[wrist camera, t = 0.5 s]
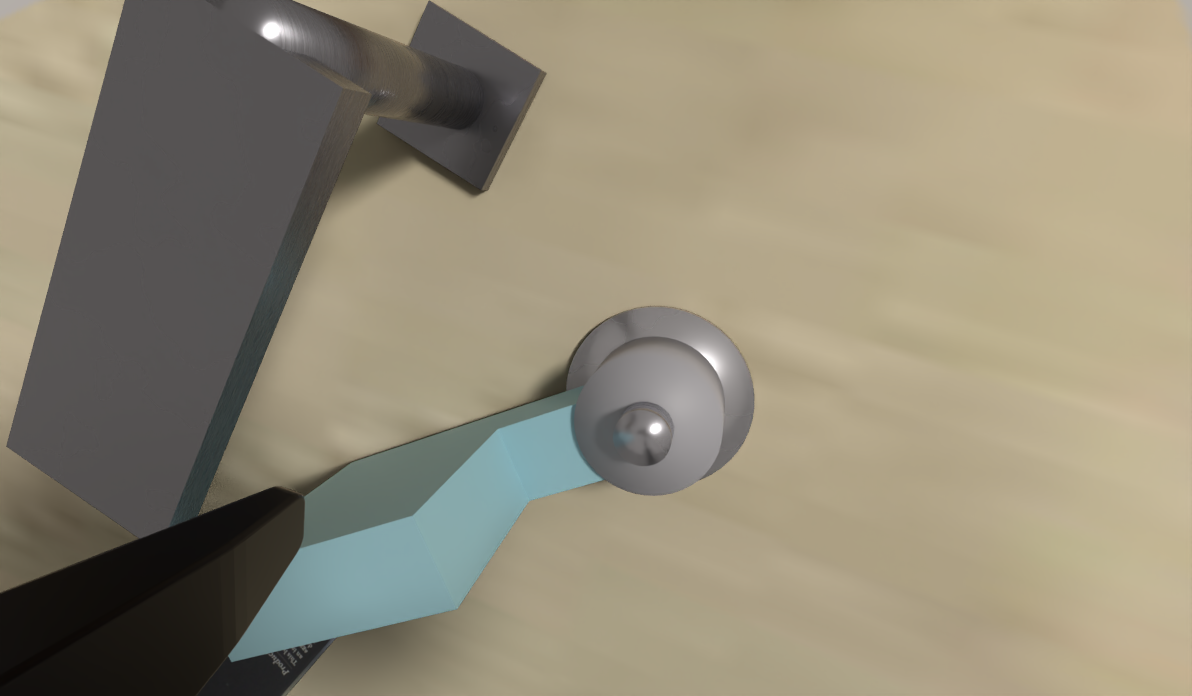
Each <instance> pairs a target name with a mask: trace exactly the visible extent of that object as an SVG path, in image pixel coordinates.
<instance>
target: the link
mask: <svg viewBox="0 0 1192 696" xmlns="http://www.w3.org/2000/svg"><path fill="white" fill-rule="evenodd" d="M638 402H651V403H655V404H657V405H659V406H661V407H662V408H664V409H665V410H666V411H667V412H668V413H669V415H670V416H671V418H672V421H673V424H674V436H673V439H672V443H671V447H670V450H669V452H668V454H667V455H666V457H665V458H664V459H663V460H662V461H660V462H659V463H657V464H654V465H651V466H637V465H634V464H631V463H629V462H628V461H626V460H625V459H623V458H622V457H621V456H620V455H619V453H618V452H617V450H616V448H615V446H614V442H613V432H614V428H615V426H616V424H617V422H618V420H619V418H620V416H621V414H622V413H623V411H624V410H625V409H626V408H627V407H629V406H630V405H632V404H634V403H638ZM724 411H725V397H724V390H723V387H722V383H721V380H720V378H719V376H718V374H717V372H716V371H715V369H714V367H713V366H712V365H711V363H710V362H709V361H708V360H707V359H706V358H705V357H704V356H703V355H702V354H701V353H700V352H698V351H697V350H696V349H694V348H693V347H691V346H689V345H687V344H686V343H683V342H681V341H678V340H675V339H671V338H667V337H659V336H652V337H642V338H638V339H634V340H631V341H629V342H626V343H624V344H622V345H621V346H619V347H617V348H616V349H615V350H614V351H612V352H611V353H610V354H609V355H608V356H607V357H606V358H605V359H604V361H603V362H602V363H601V364H600V366H599V367H598V368H597V370H596V371H595V372H594V373H593V375H592V376H591V377H590V379H589V380H588V381H587V383H586V384H585V385H584V386H581V387H578V388H575V389H572V390H569V391H566V392H563V393H560V394H556V395H553V396H550V397H547V398H544V399H541V400H538V401H535V402H532V403H529V404H526V405H523V406H520V407H517V408H514V409H511V410H508V411H505V412H502V413H499V414H496V415H493V416H490V417H487V418H484V419H481V420H478V421H475V422H472V423H469V424H466V425H463V426H460V427H457V428H454V429H451V430H448V431H445V432H442V433H439V434H436V435H433V436H430V437H427V438H424V439H421V440H418V441H415V442H412V443H409V444H406V445H403V446H400V447H397V448H394V449H391V450H388V451H385V452H382V453H379V454H376V455H373V456H370V457H367V458H364V459H361V460H358V461H355V462H352V463H350V464H349V465H347V466H346V467H345V468H343V469H342V470H340V471H339V472H338V473H336V474H335V475H334V476H332V477H331V478H329V479H328V480H327V481H325V482H324V483H322V484H321V485H320V486H318V487H317V488H316V489H314V490H313V491H311V492H310V493H309V494H307V495H306V496H305V497H304V498H305V521H304V538H303V542H302V544H301V547H300V549H299V551H298V552H297V554H296V556H295V557H294V559H293V560H292V562H291V563H290V565H289V566H288V568H287V569H286V571H285V572H284V574H283V576H282V577H281V579H280V580H279V582H278V583H277V585H276V586H275V588H274V589H273V591H272V592H271V594H270V595H269V597H268V598H267V600H266V602H265V603H264V605H263V606H262V608H261V609H260V611H259V612H258V614H257V615H256V617H255V618H254V620H253V621H252V623H251V624H250V626H249V628H248V629H247V631H246V632H245V633H244V635H243V636H242V638H241V639H240V641H239V642H238V644H237V645H236V646H235V648H234V649H233V650H232V652H231V653H230V654H229V655H228V657H229V658H230V660H231V662H234V661H238V660H242V659H246V658H251V657H255V656H259V655H264V654H268V653H272V652H276V651H281V650H285V649H289V648H293V647H298V646H302V645H306V644H311V643H315V642H319V641H323V640H328V639H332V638H336V637H340V636H345V635H349V634H353V633H357V632H362V631H366V630H370V629H375V628H379V627H383V626H387V625H392V624H396V623H400V622H404V621H409V620H413V619H417V618H421V617H426V616H430V615H434V614H439V613H443V612H447V611H451V610H456V609H458V607H459V606H460V604H461V603H462V601H463V600H464V598H465V597H466V595H467V594H468V592H469V591H470V589H471V588H472V586H473V584H474V583H475V581H476V580H477V578H478V577H479V575H480V574H481V572H482V571H483V569H484V568H485V566H486V565H487V563H488V562H489V560H490V559H491V557H492V556H493V554H494V553H495V551H496V550H497V548H498V547H499V545H500V544H501V542H502V541H503V539H504V538H505V536H506V535H507V533H508V532H509V530H510V529H511V527H512V526H513V524H514V523H515V521H516V520H517V518H518V517H519V515H520V514H521V512H522V511H523V509H524V508H525V506H526V505H527V503H528V502H529V501H531V500H534V499H538V498H541V497H545V496H548V495H552V494H555V493H559V492H563V491H566V490H570V489H573V488H577V487H580V486H584V485H587V484H591V483H595V482H598V481H602V480H606V481H608V482H609V483H611V484H613V485H615V486H616V487H618V488H621V489H623V490H625V491H628V492H632V493H635V494H641V495H653V496H655V495H666V494H671V493H674V492H677V491H680V490H683V489H685V488H687V487H689V486H691V485H692V484H694V483H695V482H697V481H698V480H699V479H700V478H701V477H703V476H704V475H705V474H706V472H707V471H708V470H709V469H710V468H711V466H712V464H713V463H714V461H715V459H716V457H717V455H718V453H719V450H720V446H721V442H722V434H723V423H724Z"/></svg>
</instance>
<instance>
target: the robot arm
mask: <svg viewBox="0 0 1192 696" xmlns="http://www.w3.org/2000/svg"><path fill="white" fill-rule="evenodd" d="M304 521H305V498H304V496H303V495H302V494H301V493H299V492H296V491H293V490H290V489H287V488H284V487H280V486H276V487H272V488H269V489H266V490H264V491H261V492H259V493H256V494H253V495H251V496H248V497H246V498H243V499H240V500H238V501H235V502H233V503H230V504H228V505H225V506H222V507H220V508H217V509H215V510H212V511H210V512H207V513H204V514H202V515H199V516H197V517H194V518H191V519H189V520H186V521H184V522H181V523H179V524H176V525H173V526H171V527H168V528H166V529H163V530H161V531H158V532H155V533H153V534H150V535H148V536H145V537H142V538H140V539H137V540H135V541H132V542H130V543H127V544H124V545H122V546H119V547H117V548H114V549H112V550H109V551H106V552H104V553H101V554H99V555H96V556H93V557H91V558H88V559H86V560H83V561H81V562H78V563H75V564H73V565H70V566H68V567H65V568H63V569H60V570H57V571H55V572H52V573H50V574H47V575H44V576H42V577H39V578H37V579H34V580H32V581H29V582H26V583H24V584H21V585H19V586H16V587H14V588H11V589H8V590H6V591H3V592H1V593H0V696H196V695H197V694H198V693H199V692H200V690H201V689H202V688H203V687H204V685H205V684H206V683H207V682H208V680H209V679H210V678H211V677H212V676H213V674H214V673H215V672H216V671H217V669H218V668H219V667H220V666H221V664H222V663H223V662H224V661H225V659H226V658H227V657H228V655H229V654H230V653H231V652H232V650H233V649H234V648H235V646H236V645H237V644H238V642H239V641H240V639H241V638H242V636H243V635H244V633H245V632H246V631H247V629H248V628H249V626H250V624H251V623H252V621H253V620H254V618H255V617H256V615H257V614H258V612H259V611H260V609H261V608H262V606H263V605H264V603H265V602H266V600H267V598H268V597H269V595H270V594H271V592H272V591H273V589H274V588H275V586H276V585H277V583H278V582H279V580H280V579H281V577H282V576H283V574H284V572H285V571H286V569H287V568H288V566H289V565H290V563H291V562H292V560H293V559H294V557H295V556H296V554H297V552H298V551H299V549H300V547H301V544H302V542H303V538H304Z"/></svg>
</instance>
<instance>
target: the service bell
mask: <svg viewBox="0 0 1192 696" xmlns="http://www.w3.org/2000/svg"><path fill="white" fill-rule="evenodd" d="M652 336H659V337H667V338H671V339H675V340H678V341H681V342H683V343H686V344H687V345H689V346H691V347H693V348H694V349H696V350H697V351H698V352H700V353H701V354H702V355H703V356H704V357H705V358H706V359H707V360H708V361H709V362H710V363H711V365H712V366H713V367H714V369H715V371H716V372H717V374H718V376H719V378H720V380H721V383H722V387H723V390H724V397H725V411H724V423H723V434H722V442H721V446H720V450H719V453H718V455H717V457H716V459H715V461H714V463H713V464H712V466H711V468H710V469H709V470H708V471H707V472H706V474H705V475H704V476H703V477H701V478H700V479H699V480H701V479H703V478H705V477H707V476H709V475H711V474H713V473H714V472H716V471H717V470H719V469H720V468H722V467H723V466H724V465H725V464H726V463H727V462H729V461H730V460H731V459H732V457H733V456H734V455H735V454H736V453H737V452H738V450H739V449H740V447H741V446H742V444H743V442H744V441H745V438H746V436H747V434H748V432H749V429H750V426H751V423H752V419H753V412H754V389H753V382H752V378H751V375H750V371H749V369H748V366H747V364H746V362H745V359H744V358H743V356H742V354H741V353H740V351H739V349H738V348H737V347H736V345H735V344H734V343H733V342H732V340H731V339H730V338H729V337H728V336H727V335H726V334H725V333H724V332H723V331H722V330H721V329H719V328H718V327H717V326H715V325H714V324H713V323H711V322H710V321H708V320H706V319H704V318H702V317H701V316H699V315H696V314H694V313H691V312H689V311H686V310H682V309H678V308H674V307H665V306H647V307H640V308H635V309H631V310H627V311H624V312H622V313H619V314H617V315H615V316H613V317H611V318H609V319H608V320H606V321H604V322H603V323H602V324H600V325H599V326H598V327H597V328H595V329H594V330H593V331H592V332H591V333H590V334H589V335H588V337H587V338H586V339H585V340H584V341H583V343H582V344H581V346H580V347H579V348H578V350H577V352H576V354H575V356H574V358H573V360H572V363H571V366H570V369H569V373H568V378H567V386H566V391H569V390H572V389H575V388H578V387H581V386H584V385H585V384H586V383H587V381H588V380H589V379H590V377H591V376H592V375H593V373H594V372H595V371H596V370H597V368H598V367H599V366H600V364H601V363H602V362H603V361H604V359H605V358H606V357H607V356H608V355H609V354H610V353H611V352H612V351H614V350H615V349H616V348H617V347H619V346H621V345H622V344H624V343H626V342H629V341H631V340H634V339H638V338H642V337H652ZM673 436H674V424H673V421H672V418H671V416H670V415H669V413H668V412H667V411H666V410H665V409H664V408H662V407H661V406H659V405H657V404H655V403H651V402H638V403H634V404H632V405H630V406H629V407H627V408H626V409H625V410H624V411H623V413H622V414H621V416H620V418H619V420H618V422H617V424H616V426H615V428H614V432H613V442H614V446H615V448H616V450H617V452H618V453H619V455H620V456H621V457H622V458H623V459H625V460H626V461H628V462H629V463H631V464H634V465H637V466H651V465H654V464H657V463H659V462H660V461H662V460H663V459H664V458H665V457H666V455H667V454H668V452H669V450H670V447H671V443H672V439H673Z"/></svg>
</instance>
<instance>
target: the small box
mask: <svg viewBox="0 0 1192 696" xmlns="http://www.w3.org/2000/svg"><path fill="white" fill-rule="evenodd" d="M335 639H336V638H332V639H328V640H323V641H319V642H315V643H311V644H306V645H302V646H298V647H293V648H289V649H285V650H281V651H276V652H272V653H268V654H264V655H259V656H255V657H251V658H246V659H242V660H238V661H234V662H231V660H230V658H229V657H227V658H226V659H225V661H224V662H223V663H222V664H221V666H220V667H219V668H218V669H217V671H216V672H215V673H214V674H213V676H212V677H211V678H210V679H209V680H208V682H207V683H206V684H205V685H204V687H203V688H202V689H201V690H200V692H199V693H198V694H197V695H196V696H286V695H287V694H288V693H289V692H290V690H291V689H292V688H293V687H294V686H295V685H296V684H297V682H298V681H299V680H300V679H301V678H302V677H303V676H304V674H305V673H306V672H307V671H308V670H309V669H310V668H311V666H312V665H313V664H314V663H315V662H316V661H317V659H318V658H319V657H320V656H321V655H322V654H323V652H324V651H325V650H326V649H327V648H328V647H329V646H330V644H331V643H332V642H333V641H334V640H335Z"/></svg>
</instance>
